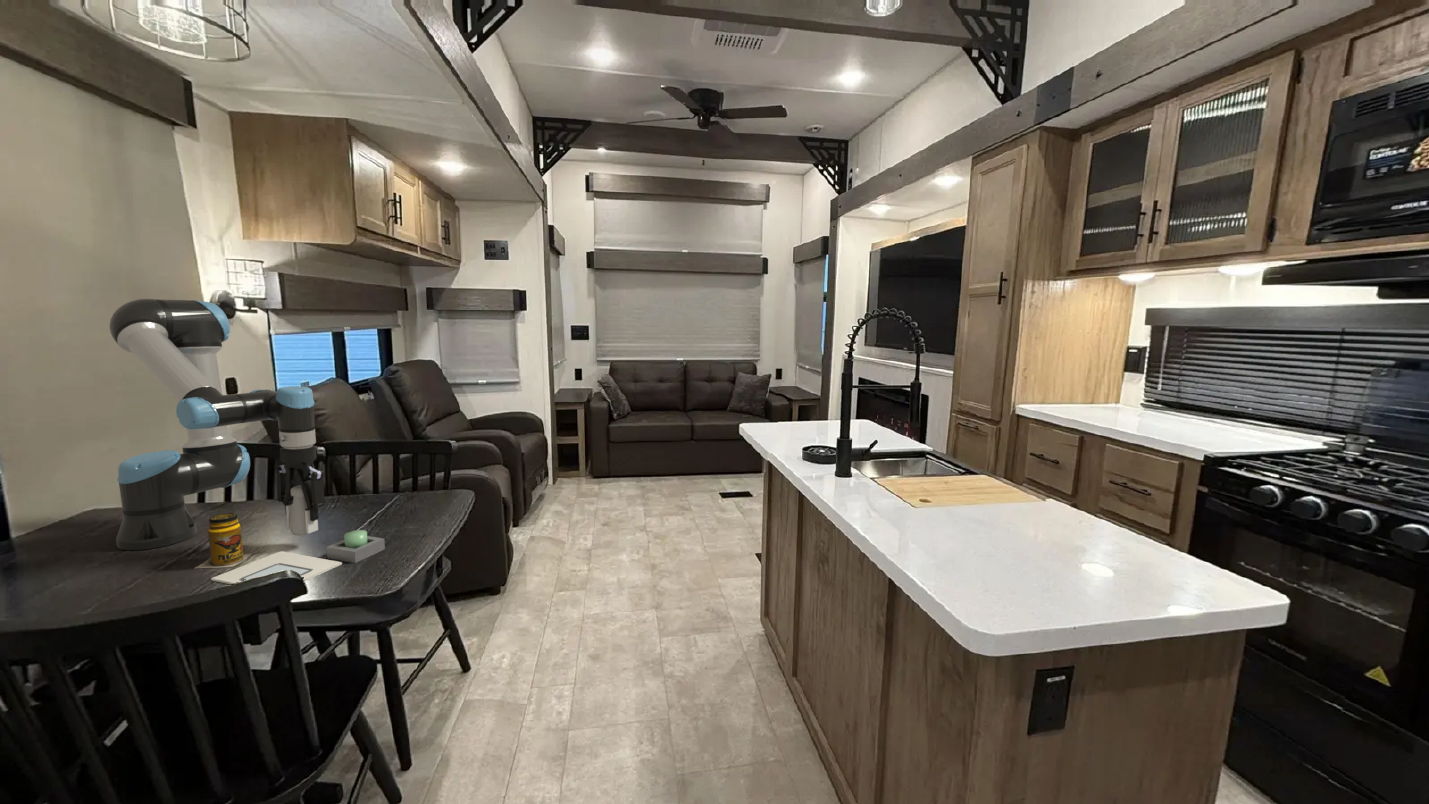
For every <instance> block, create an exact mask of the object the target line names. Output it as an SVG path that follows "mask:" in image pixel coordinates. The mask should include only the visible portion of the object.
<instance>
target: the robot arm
mask: <svg viewBox="0 0 1429 804" xmlns="http://www.w3.org/2000/svg"><path fill="white" fill-rule="evenodd" d="M110 317H111V318H110V321H109V333H110V334H111V337H112V338H113V340H114V341H115V343H116V344H117V345H118V346H119V347H120V348H121V349H122V350H124V351H126V352H127V353H132V354H133V355H134V356H135V357H136V358H137V359H138V360H139V361H140V362H141V363H142V364H143V366H145V368H146V369H147V370H148V372H150V373H151V374H152V375H153V376H154V377H155V378H156V379H157V381H158V382H159V383H160V384H161V385H162V386H163V387H164V388H165V389H166V390H167V391H168V393H170V395H172V397H173V398H174V399H175V400H176V402H177V405H176V406H175V407H176V409H175V411H176V412H175V414H176V418H178V421H179V424H180V425H181V426H182V427H183V428H185V429H186V433H187V441H185V443H183V445H182V446H181V449H182V453H180V452H179V451H177V450H173V449H167V450H160V451H152V452H146V453H142V454H138V455H135V456H132V457H130V458H127V459H125V460H123V461H121V463H120V464H119V465H118V467H117V468H118V469H117V473H118V475H117V483H118V484H119V485H118V486H119V493H120V494H119V495H120V501H121V508H122V520H121V523H120V526H119V529H118V532H117V536H116V538H115V539H116V540H115V541H116V548H118V549H120V550H124V551H140V550H142V551H143V550H149V549H150V550H151V549H156V548H162V547H166V546H167V547H168V546H170V545H175V544H178V543H181V542H184V541H186V540H189V539H191V538H193V537H194V536H195V535H197V525H196V523H195V521H194V519H193V518H192V516H191V514H190V513H189V511H188V510H187V508H186V505H185V496H189V495H193V494H199V493H202V492H207V491H211V490H216V489H217V490H218V489H221V488H222V489H223V488H227V487H229V486H233V485H236V484H239V483H242V482H243V481H244V480H245V478H246V477H247V476H248V474H249V471H250V467H251V457H250V454H249V452H247V451H248V449H247V448H246V447H245V446H244V445H241V444H239V443H238V441H237V439H236V438H234V437H233V436H231V435H229V428H228V426H232V425H239V424H247V423H254V422H262V421H270V420H271V421H275V422H278V423H277V425H278V437H279V446H281V448H280V449H279V457H280V462H281V463H283V464H282V465H281V464H280V465H277V466H275V468H274V469H275V473H276V484H277V485H276V487H277V501H278V502H279V503H282V504H283V506H284V511H285V516H286V530H289V531H291V530H290V529H289V522H290V517H291V511H292V505H293V499H294V496H291V488H293V487H294V486H298V485H300V486H301V487H302V491H303V494H304V498H305V501H306V505H307V509H305V521H306V533H308V534H307V535H309V534H311V533H314V532H317V531H319V521H318V520H319V508H322V507H324V506H326V501H325V491H324V475H325V474H324V473H325V472H324V470H318V469H316V468H315V465H314V461H315V460H316V459H317V446H316V445H315V444H316V443H317V438H316V428H315V427H316V426H315V425H316V424H315V423H316V422H315V400H314V395H313V390H312V388H310V387H307V386H298V385H297V386H295V385H294V386H293V385H292V386H283V387H279V388H278V389H277V390H276V391H275V390H271V389H255V390H251V391H250V392H246V393H244V392H243V393H233V394H232V393H231V394H223V388H222V383H221V377H220V376H221V375H220V370H219V364H218V358H217V357H218V356H217V355H218V352H220V351H221V350H222V349H223V343H224V342H226V341H228V339H229V338H230V333H231V325H230V322H229V321H230V320H229V319H228V317H227V315H226V313H225V312H224V310H223V309H222V308H221V307H220V306H218V305H217V304H215V303H213V302H210V301H201V300H191V299H190V300H188V299H187V300H186V299H185V300H183V299H182V300H181V299H160V298H159V299H158V298H157V299H156V298H155V299H154V298H139V299H135V300H134V299H133V300H131V301H129V302H126V303H124V304H122V305H121V306H120V307H118V308H117V309H116V310H115V311H113V314H112V316H110Z"/></svg>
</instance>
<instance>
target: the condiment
mask: <svg viewBox="0 0 1429 804" xmlns="http://www.w3.org/2000/svg"><path fill="white" fill-rule="evenodd" d="M208 521H209V528H208V530H207V533H208V534H207V535H208V543H209V553H210V557H209V558H208V559H207V560H206V561H203V562H202V563H201V564H199V565H198V566H196V567H194V569H203V568H204V569H207V568H208V569H209V568H212V569H213V568H214V569H215V568H231V567H232V568H233V567H235V566H237V565H239V564H240V563H242V562H243V561H245V560H246V559H247V558H248V557H249V556H251V555H252V553H244V547H243V546H244V545H243V537H242V526H241V524H240V523H239V519H238V514H237V513H236V512H226V513H225V512H224V513H220V514H219V513H218V514H216V515H213V516H211V517H209V519H208Z"/></svg>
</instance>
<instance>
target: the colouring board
mask: <svg viewBox="0 0 1429 804" xmlns="http://www.w3.org/2000/svg"><path fill="white" fill-rule="evenodd" d="M341 565H343V561H339V560H333V559H331V560H330V559H328V558H327V559H325V558H319V557H314V556H310V555H309V556H308V555H303V554H299V553H292V552H288V551H282V550H281V551H278V552H276V553H272V554H271V555H268V556H265V557H263V558H259V559H257V560H254V561H252V562H249V563H247V564H245V565H242V566H239V567H236V568H234V569H231V570H229V571H225V572H224V573H221V574H219V575H216V576H213V577H211V578H210V579H211V581H213V582H216V583H217V582H218V583H221V584H228V585H231V584H233V583H236V582H241V581H244V580H246V579H250V578H252V577H260V576H263V575H268V574H272V573H276V572H278V571H281V570H294V571H296V572H298V573H299V574H300V575H301V576H302V577H304V580H305V581H304V582H306V581H308V580H311V579H313V578H315V577H318V576H319V575H321V574H323V573H326V572H328V571H330V570H333V569H334V568H337V567H339V566H341Z"/></svg>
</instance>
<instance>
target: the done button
mask: <svg viewBox="0 0 1429 804" xmlns="http://www.w3.org/2000/svg"><path fill="white" fill-rule="evenodd" d="M343 536H344V537H343V540H344V541H345V547H348V548H354V549H356V548H358V547H360V546H363V545H365V544H367V543H368V542H367V536H368V532H367V530H364V529H358V530H357V529H356V530H352V531H348V532H346V533H345V534H344V535H343Z"/></svg>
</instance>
